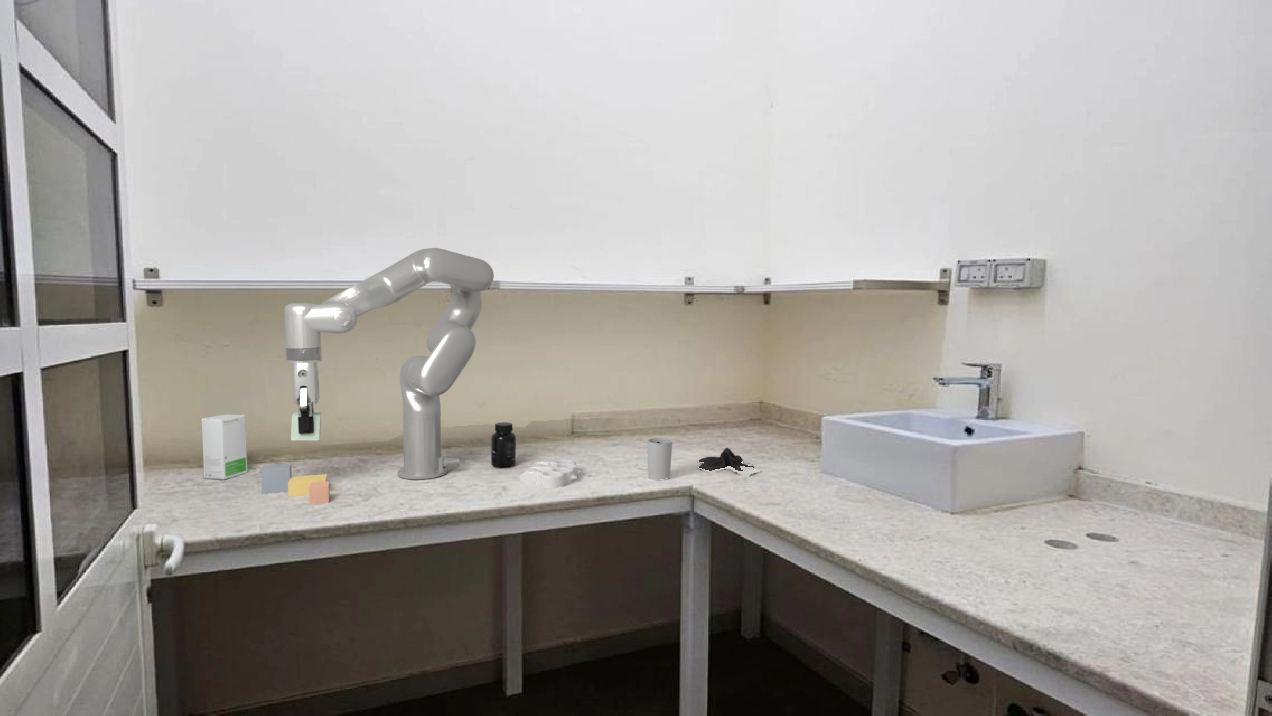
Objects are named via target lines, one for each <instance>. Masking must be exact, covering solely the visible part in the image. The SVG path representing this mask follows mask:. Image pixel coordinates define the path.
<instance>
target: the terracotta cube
mask: <svg viewBox="0 0 1272 716" xmlns="http://www.w3.org/2000/svg"><path fill="white" fill-rule="evenodd" d="M330 491H331V489H330V481H327V482H317V483H310V486H309V495H308V497H309V498H308V499H309V500H308V501H309V502H308V504H310V505H317V504H319V505H320V503H321V504H329V503H330V499H331V497H330V496H331V495H330V493H331V492H330Z"/></svg>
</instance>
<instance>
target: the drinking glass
mask: <svg viewBox="0 0 1272 716" xmlns="http://www.w3.org/2000/svg"><path fill="white" fill-rule="evenodd" d="M672 450H673V440H672V439H669V438H662V437H654V438H649V439H647V471H648V473H647V474H648V479H650V478H652V479H666V478H669V477H670V478H671V465H672ZM670 478H669V479H670ZM652 479H651V480H652Z"/></svg>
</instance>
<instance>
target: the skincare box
mask: <svg viewBox="0 0 1272 716" xmlns="http://www.w3.org/2000/svg"><path fill="white" fill-rule="evenodd" d="M246 426H247V425H246V415H245V414H220V415H214V416H207V417H204V418H201V431H202V432H201V434H202V435H201V437H202V439H201V440H202V453H203V454H202V458H203V479H207V480H227V479H230V478H234V477H237V476H240V475H241V476H242V475H243V474H247V473H248V455H247V452H248V451H247V428H246Z"/></svg>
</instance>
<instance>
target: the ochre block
mask: <svg viewBox="0 0 1272 716" xmlns="http://www.w3.org/2000/svg"><path fill="white" fill-rule="evenodd" d="M317 482H328V474H327V473H324V474H323V473H322V474H309V475H307V474H306V475H294V476H292V477H291V478H290V480H289V482H288V492H287V493H288V496H289V497H298V496H299V497H300V496H309V486H310V483H317Z"/></svg>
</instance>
